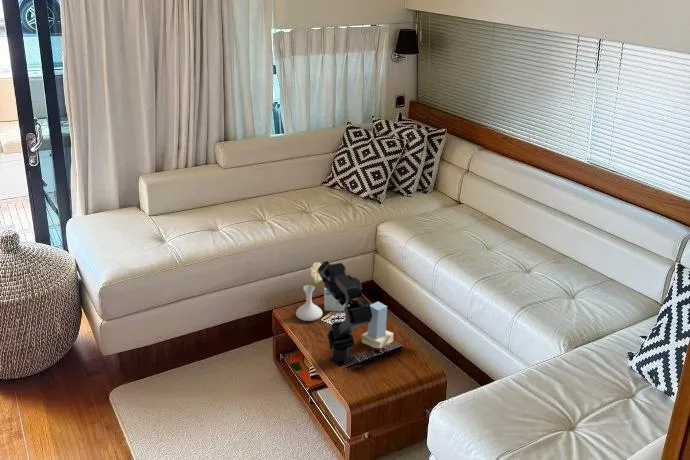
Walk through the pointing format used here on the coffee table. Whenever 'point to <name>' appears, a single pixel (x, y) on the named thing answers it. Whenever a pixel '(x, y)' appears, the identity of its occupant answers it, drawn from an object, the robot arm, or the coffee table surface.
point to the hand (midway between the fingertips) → (355, 309)
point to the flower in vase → (310, 298)
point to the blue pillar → (378, 320)
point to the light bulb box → (331, 302)
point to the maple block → (377, 340)
